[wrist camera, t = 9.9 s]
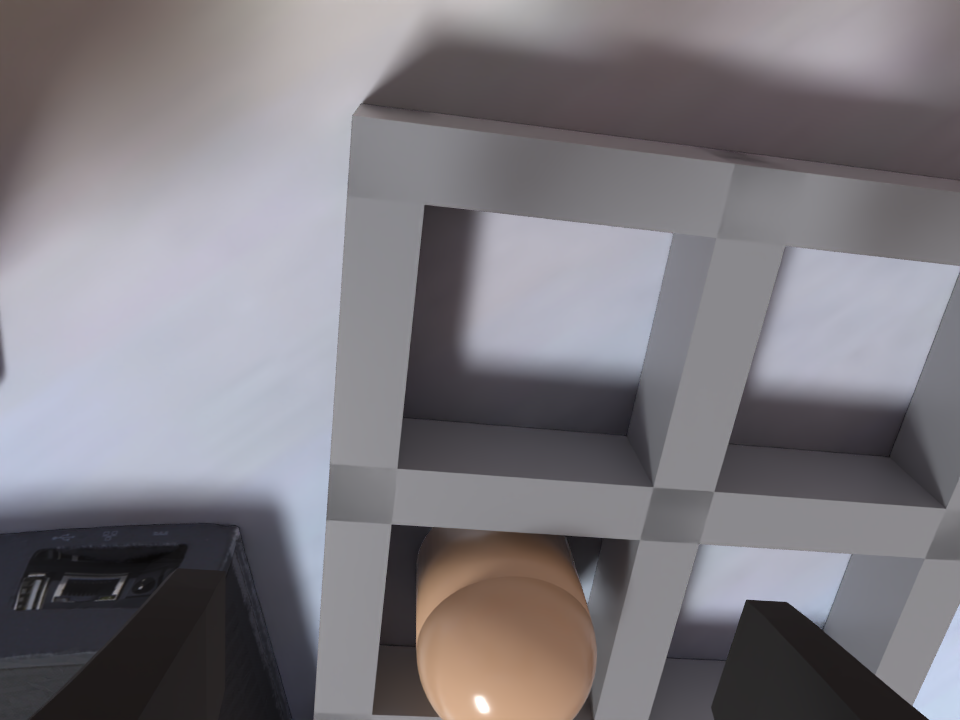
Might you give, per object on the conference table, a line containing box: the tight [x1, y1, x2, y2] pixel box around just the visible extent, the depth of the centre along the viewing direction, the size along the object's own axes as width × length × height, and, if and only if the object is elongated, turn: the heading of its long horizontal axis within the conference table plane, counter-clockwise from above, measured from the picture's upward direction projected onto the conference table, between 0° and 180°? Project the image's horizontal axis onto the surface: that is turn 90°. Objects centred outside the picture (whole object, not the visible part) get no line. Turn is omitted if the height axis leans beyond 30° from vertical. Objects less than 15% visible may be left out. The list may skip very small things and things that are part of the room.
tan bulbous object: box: [416, 527, 597, 720], centre depth 19 cm, size 4×4×5 cm
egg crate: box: [314, 103, 960, 720], centre depth 21 cm, size 24×16×2 cm
